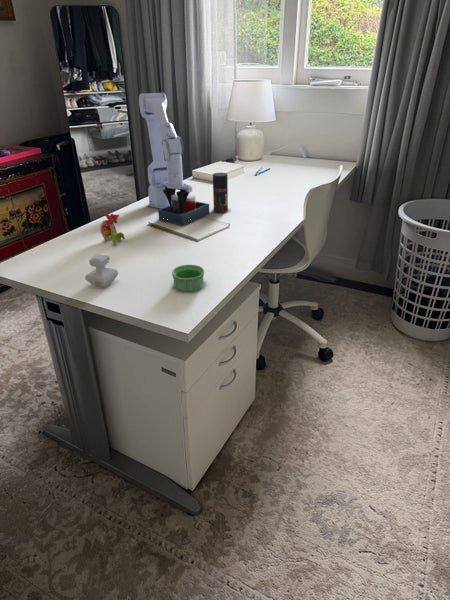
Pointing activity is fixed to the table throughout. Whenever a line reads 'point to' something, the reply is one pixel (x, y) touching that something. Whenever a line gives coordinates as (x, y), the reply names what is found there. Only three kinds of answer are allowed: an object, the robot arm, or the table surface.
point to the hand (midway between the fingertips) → (177, 207)
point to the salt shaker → (190, 203)
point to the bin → (183, 214)
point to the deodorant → (220, 192)
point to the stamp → (101, 271)
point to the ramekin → (188, 277)
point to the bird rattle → (110, 229)
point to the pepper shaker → (176, 205)
